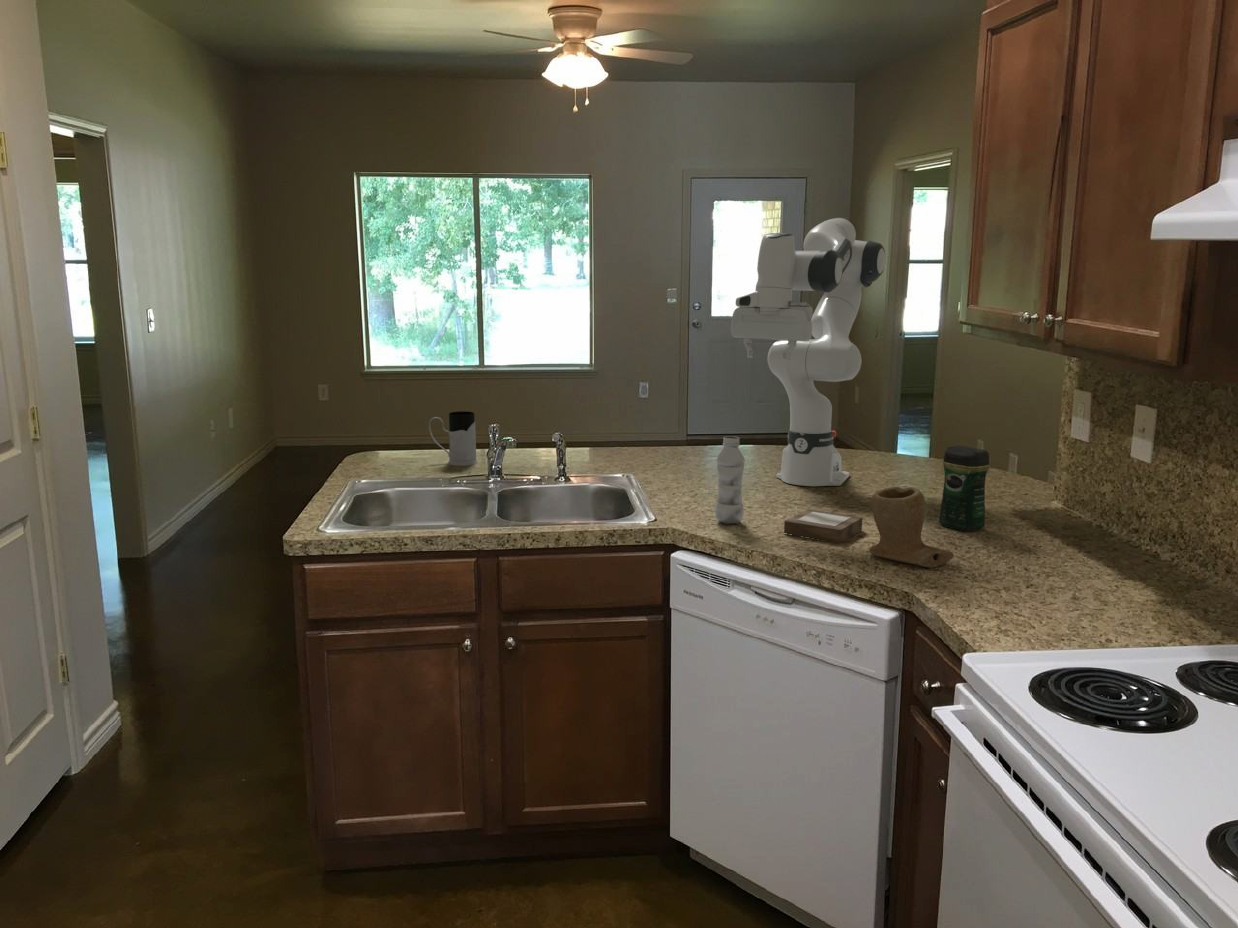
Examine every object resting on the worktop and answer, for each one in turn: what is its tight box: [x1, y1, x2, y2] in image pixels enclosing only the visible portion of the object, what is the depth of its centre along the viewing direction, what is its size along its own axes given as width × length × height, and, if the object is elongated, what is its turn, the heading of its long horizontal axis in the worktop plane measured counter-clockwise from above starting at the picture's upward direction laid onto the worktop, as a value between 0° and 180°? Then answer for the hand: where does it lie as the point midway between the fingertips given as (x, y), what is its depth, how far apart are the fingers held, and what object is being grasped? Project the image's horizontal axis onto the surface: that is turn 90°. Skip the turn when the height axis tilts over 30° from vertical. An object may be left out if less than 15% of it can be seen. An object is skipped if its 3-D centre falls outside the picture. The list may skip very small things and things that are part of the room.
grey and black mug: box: [428, 410, 479, 467], centre depth 290 cm, size 9×14×15 cm, turn 89°
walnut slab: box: [783, 508, 863, 544], centre depth 217 cm, size 13×13×3 cm
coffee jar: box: [938, 445, 990, 532], centre depth 221 cm, size 10×8×19 cm
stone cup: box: [868, 486, 954, 569], centre depth 195 cm, size 15×12×15 cm
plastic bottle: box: [714, 435, 746, 525], centre depth 223 cm, size 6×7×20 cm
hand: (768, 358), depth 236 cm, fingers open, 8 cm apart
